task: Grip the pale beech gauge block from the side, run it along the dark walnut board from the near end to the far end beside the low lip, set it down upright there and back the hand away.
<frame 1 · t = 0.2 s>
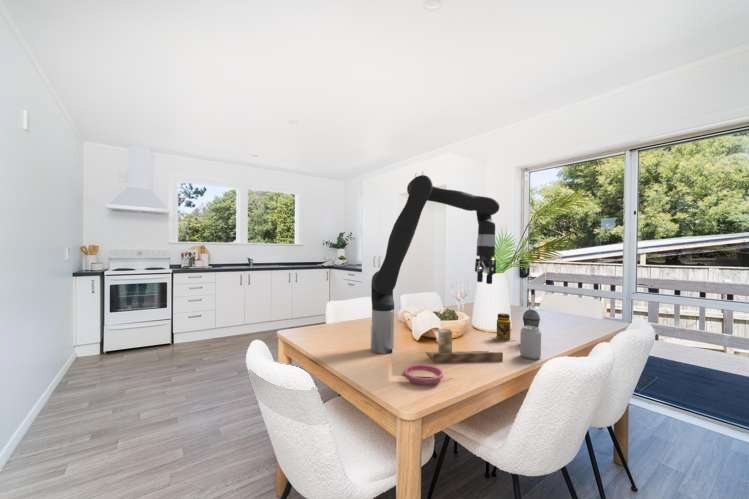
hand: (484, 282, 141), 28 cm above the table, tool pointing down, fingers open, 8 cm apart
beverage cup: (530, 344, 148), on the table
condiment: (502, 339, 156), on the table
grey square jar: (530, 357, 130), on the table
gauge: (444, 356, 124), point 1 cm above the table, touching board
board: (462, 360, 125), on the table
purple round open piece: (423, 381, 106), on the table
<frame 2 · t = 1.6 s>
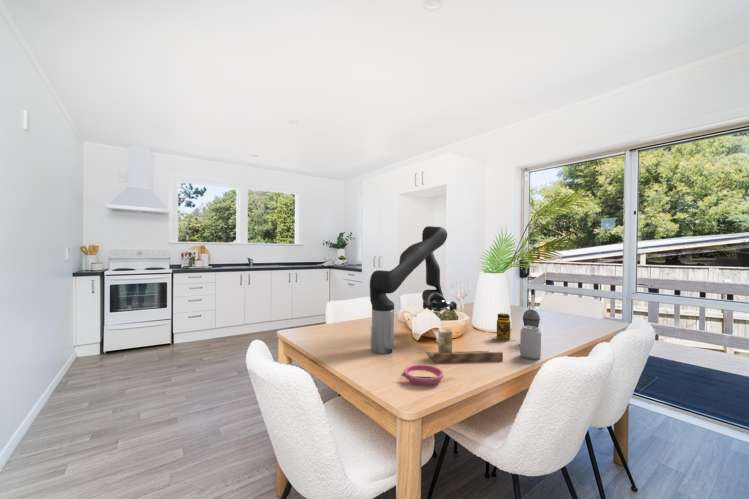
hand: (441, 308, 135), 18 cm above the table, tool horizontal, fingers open, 8 cm apart
nothing on the table moved.
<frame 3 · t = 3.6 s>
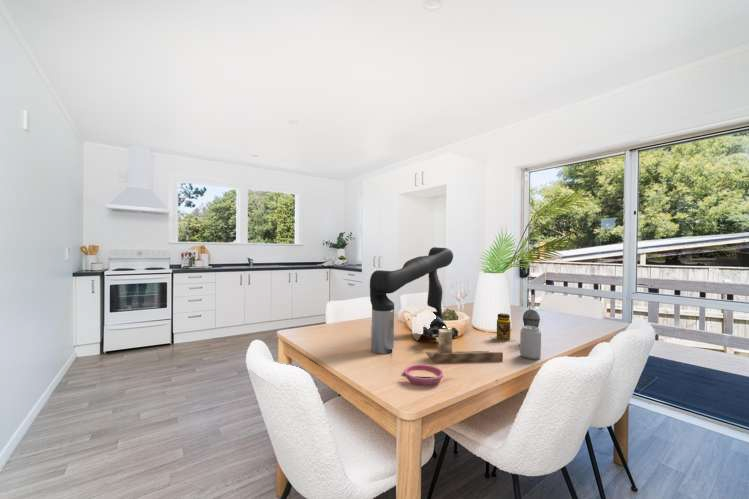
hand: (442, 336, 131), 8 cm above the table, tool horizontal, fingers open, 8 cm apart
nothing on the table moved.
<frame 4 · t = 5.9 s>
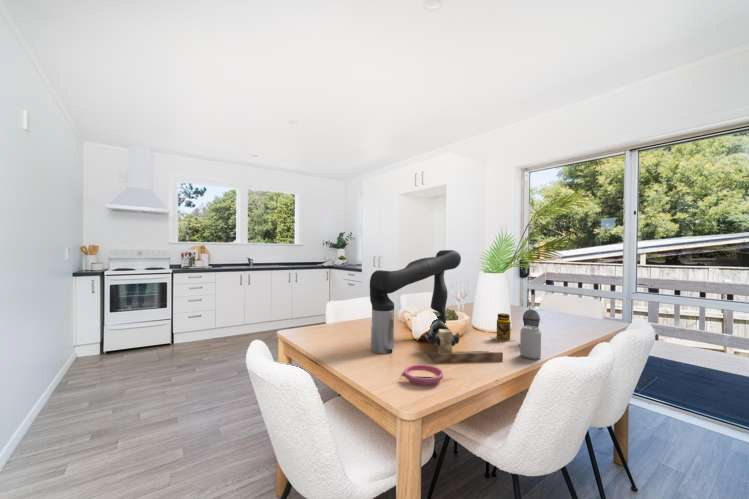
hand: (446, 343, 121), 8 cm above the table, tool horizontal, fingers closed on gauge, 4 cm apart
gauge: (444, 356, 124), point 1 cm above the table, touching board, gripper
everything else where it was.
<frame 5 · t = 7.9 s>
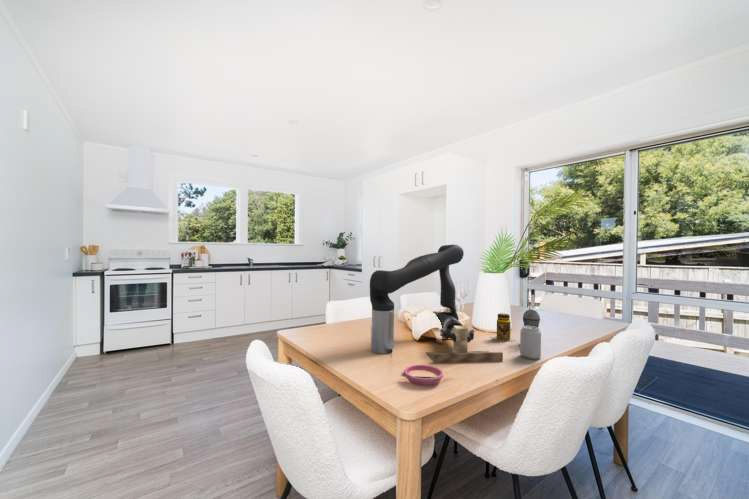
hand: (462, 339, 122), 9 cm above the table, tool horizontal, fingers closed on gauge, 4 cm apart
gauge: (460, 353, 125), point 3 cm above the table, touching gripper
everything else where it was.
when the fingers open (8 cm above the table, at t = 10.3 s): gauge stays where it is, resting on board.
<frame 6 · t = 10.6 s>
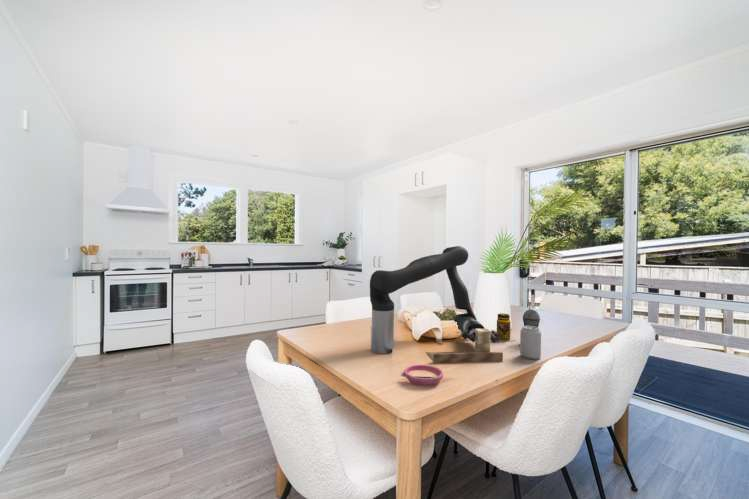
hand: (484, 339, 124), 8 cm above the table, tool horizontal, fingers open, 7 cm apart
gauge: (482, 355, 126), point 1 cm above the table, touching board
everything else where it was.
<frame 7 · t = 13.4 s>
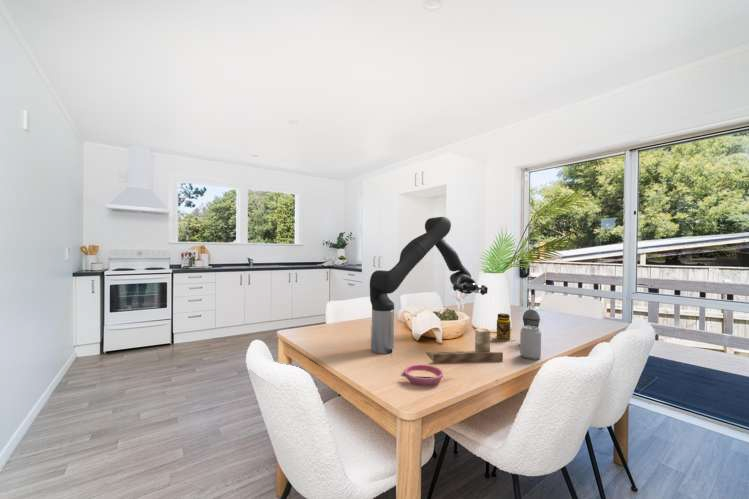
hand: (472, 291, 136), 25 cm above the table, tool horizontal, fingers open, 8 cm apart
nothing on the table moved.
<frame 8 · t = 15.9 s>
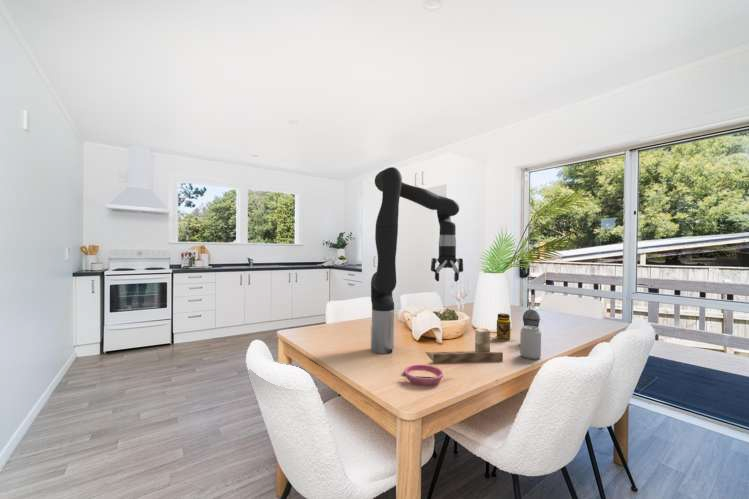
hand: (446, 281, 147), 28 cm above the table, tool pointing down, fingers open, 8 cm apart
nothing on the table moved.
at the end: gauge inside the target area (0.6 cm from its centre), point 1.5 cm above the table; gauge tilted 0°; the gripper is holding nothing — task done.
